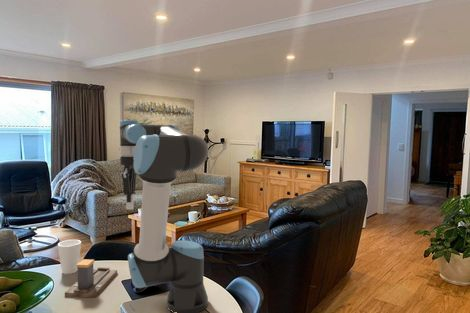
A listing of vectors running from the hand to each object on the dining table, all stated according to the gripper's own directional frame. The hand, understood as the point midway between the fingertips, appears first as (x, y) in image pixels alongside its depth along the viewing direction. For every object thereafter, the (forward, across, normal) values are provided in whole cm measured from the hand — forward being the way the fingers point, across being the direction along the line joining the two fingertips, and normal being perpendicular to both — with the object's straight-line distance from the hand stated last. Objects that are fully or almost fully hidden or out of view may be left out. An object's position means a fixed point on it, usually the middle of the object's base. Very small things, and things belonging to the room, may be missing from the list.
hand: (129, 209), depth 151 cm
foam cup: (+30, -1, -28) cm, 41 cm away
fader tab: (+28, +17, -12) cm, 35 cm away
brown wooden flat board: (+29, +11, -12) cm, 34 cm away
